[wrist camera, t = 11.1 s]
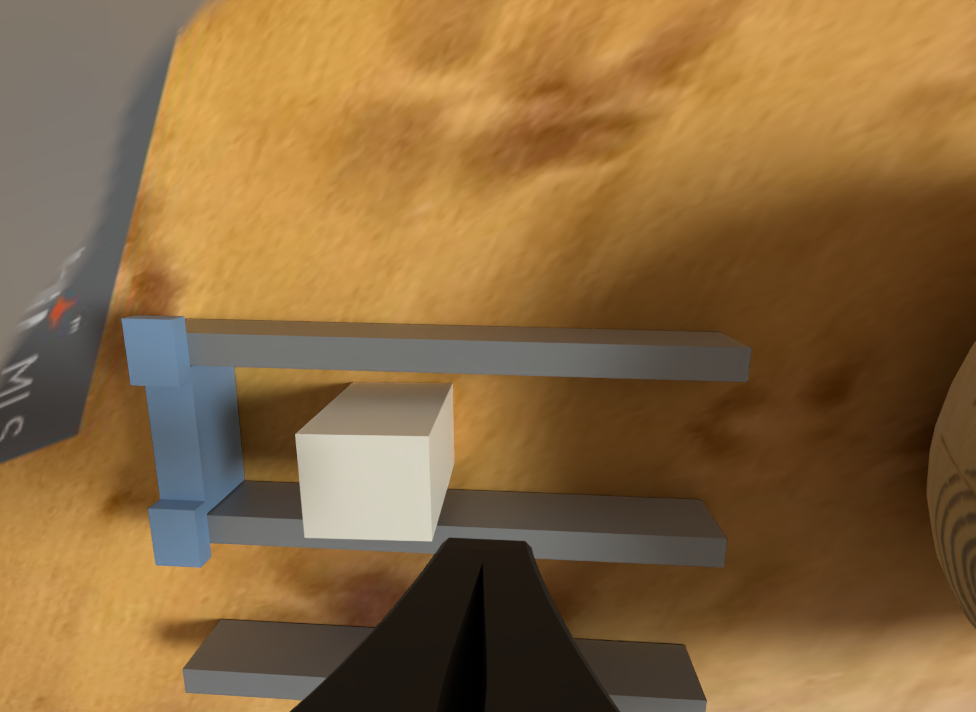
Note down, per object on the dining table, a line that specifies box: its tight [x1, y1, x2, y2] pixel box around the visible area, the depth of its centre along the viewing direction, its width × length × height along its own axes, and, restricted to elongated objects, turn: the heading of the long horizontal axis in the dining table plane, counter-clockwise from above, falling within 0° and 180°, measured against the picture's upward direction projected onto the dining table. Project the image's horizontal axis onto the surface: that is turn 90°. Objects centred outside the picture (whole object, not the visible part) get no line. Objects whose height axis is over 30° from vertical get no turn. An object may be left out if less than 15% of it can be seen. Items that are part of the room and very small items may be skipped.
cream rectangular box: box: [295, 382, 454, 541], centre depth 17 cm, size 4×3×5 cm
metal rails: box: [121, 315, 752, 712], centre depth 18 cm, size 18×14×3 cm
